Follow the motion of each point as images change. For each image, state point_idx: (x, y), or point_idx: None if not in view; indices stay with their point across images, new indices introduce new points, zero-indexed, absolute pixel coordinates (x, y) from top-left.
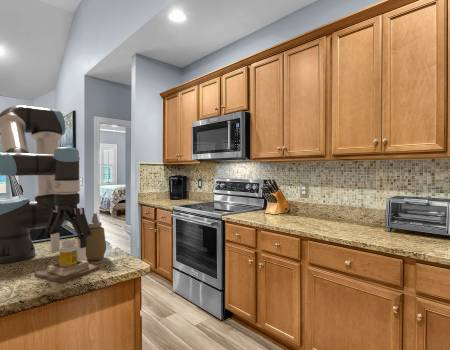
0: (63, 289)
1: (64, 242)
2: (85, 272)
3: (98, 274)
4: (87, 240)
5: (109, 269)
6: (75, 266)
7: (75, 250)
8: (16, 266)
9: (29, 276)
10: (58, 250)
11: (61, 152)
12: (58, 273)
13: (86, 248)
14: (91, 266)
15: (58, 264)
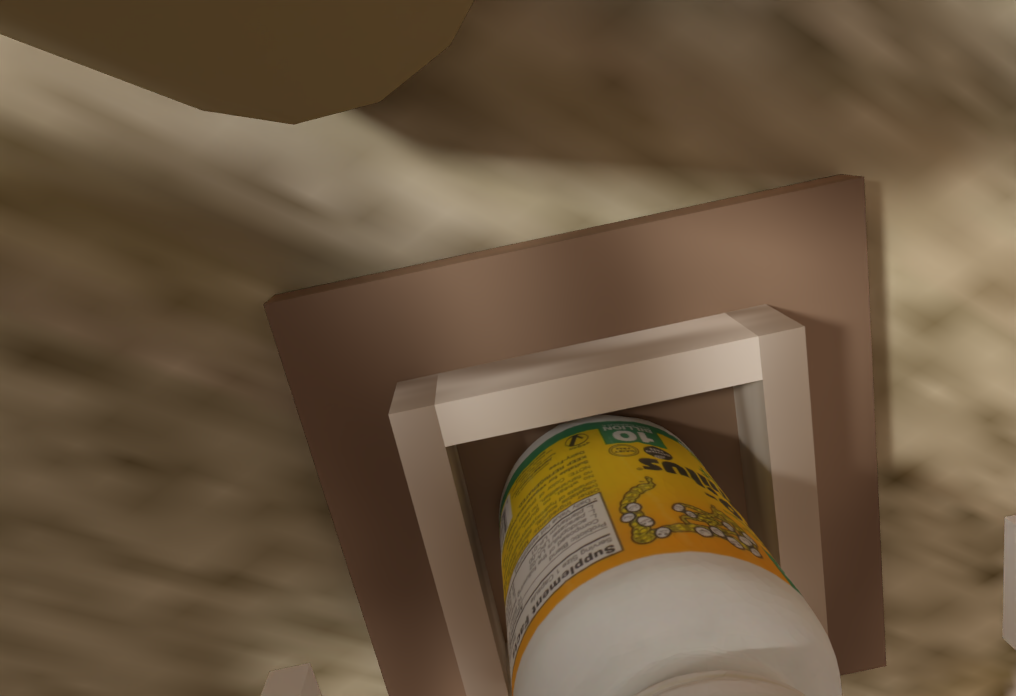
0: (1005, 679)
1: None
2: (867, 400)
3: (997, 291)
4: (238, 67)
5: (984, 91)
6: (816, 528)
7: (819, 624)
8: None
9: None
10: (311, 692)
11: None
12: None
13: (291, 107)
14: (771, 261)
15: (488, 607)
